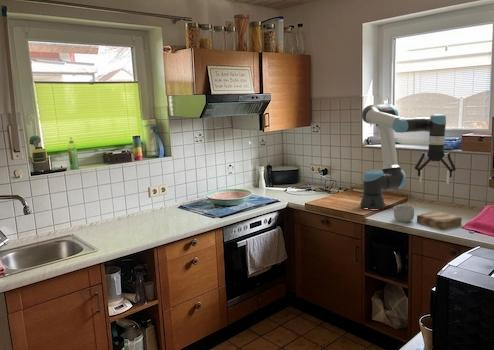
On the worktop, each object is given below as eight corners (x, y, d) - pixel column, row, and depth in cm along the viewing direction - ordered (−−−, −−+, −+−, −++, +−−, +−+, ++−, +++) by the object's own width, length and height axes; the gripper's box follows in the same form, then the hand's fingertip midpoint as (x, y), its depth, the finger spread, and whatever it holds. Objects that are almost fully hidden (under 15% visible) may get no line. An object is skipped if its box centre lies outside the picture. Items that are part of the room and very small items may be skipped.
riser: (416, 222, 228) (417, 214, 227) (435, 217, 235) (435, 210, 234) (442, 229, 214) (443, 221, 213) (461, 224, 221) (461, 217, 220)
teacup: (415, 224, 225) (416, 209, 223) (394, 223, 227) (395, 209, 225) (410, 216, 238) (411, 203, 237) (391, 216, 240) (391, 203, 239)
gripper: (412, 144, 220) (410, 183, 224) (463, 144, 213) (460, 185, 217) (410, 142, 227) (408, 180, 231) (460, 143, 220) (457, 182, 224)
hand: (433, 182), depth 224 cm, fingers open, 13 cm apart
